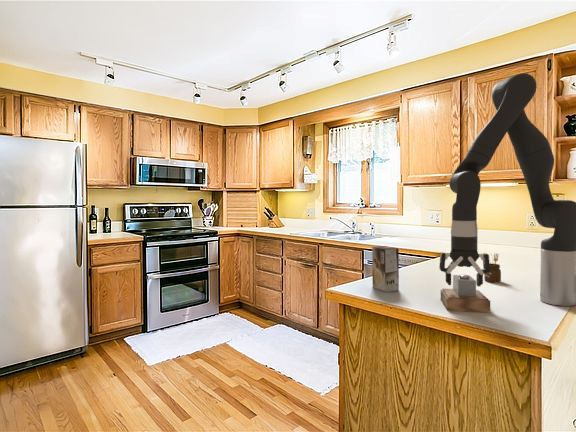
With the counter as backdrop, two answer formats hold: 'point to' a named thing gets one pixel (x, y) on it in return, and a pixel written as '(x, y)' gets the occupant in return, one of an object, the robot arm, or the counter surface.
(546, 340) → the counter surface
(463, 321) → the counter surface
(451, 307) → the walnut stand
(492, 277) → the utensil holder
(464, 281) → the block
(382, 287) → the coffee box
